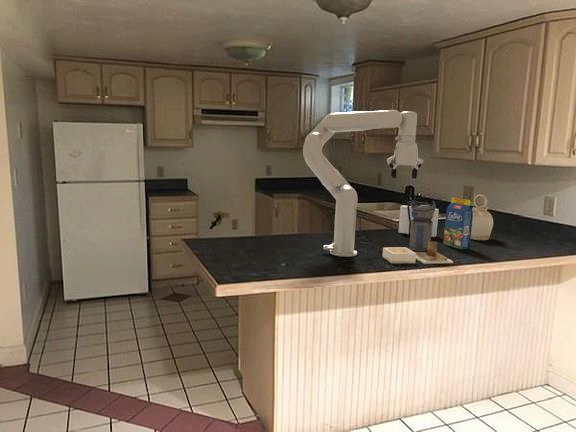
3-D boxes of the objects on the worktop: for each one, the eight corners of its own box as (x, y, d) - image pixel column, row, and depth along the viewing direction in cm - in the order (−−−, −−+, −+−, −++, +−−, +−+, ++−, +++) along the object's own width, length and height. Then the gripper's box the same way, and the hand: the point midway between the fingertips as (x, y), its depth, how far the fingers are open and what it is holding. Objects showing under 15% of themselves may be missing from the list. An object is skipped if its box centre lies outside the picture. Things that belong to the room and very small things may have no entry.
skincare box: (436, 236, 266) (439, 208, 263) (434, 237, 261) (436, 209, 258) (401, 231, 277) (403, 204, 274) (397, 232, 272) (399, 205, 269)
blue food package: (451, 243, 247) (455, 197, 242) (469, 248, 236) (474, 200, 232) (442, 244, 244) (447, 197, 240) (461, 249, 233) (465, 200, 229)
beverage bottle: (405, 246, 237) (409, 197, 233) (432, 249, 232) (436, 199, 228) (402, 250, 227) (406, 199, 223) (431, 253, 223) (435, 202, 219)
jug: (478, 234, 273) (482, 192, 269) (497, 240, 259) (502, 196, 254) (456, 235, 268) (460, 192, 264) (475, 241, 254) (479, 196, 250)
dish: (391, 263, 203) (392, 253, 202) (382, 257, 213) (383, 247, 212) (415, 263, 204) (416, 253, 204) (404, 256, 215) (405, 247, 214)
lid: (425, 260, 206) (427, 244, 205) (415, 254, 216) (416, 239, 215) (447, 260, 208) (448, 244, 207) (436, 254, 218) (437, 239, 217)
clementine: (396, 259, 207) (397, 252, 206) (393, 257, 210) (394, 250, 209) (403, 259, 207) (404, 252, 207) (400, 257, 211) (401, 250, 210)
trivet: (423, 263, 204) (423, 261, 204) (410, 255, 218) (410, 253, 218) (453, 263, 206) (453, 261, 206) (437, 255, 220) (438, 253, 220)
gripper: (391, 139, 203) (389, 178, 205) (428, 140, 206) (425, 179, 208) (385, 139, 210) (382, 177, 213) (421, 140, 213) (418, 177, 216)
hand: (403, 178), depth 211 cm, fingers open, 9 cm apart
